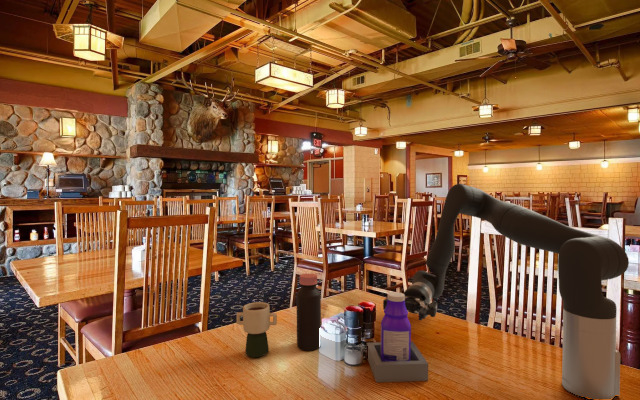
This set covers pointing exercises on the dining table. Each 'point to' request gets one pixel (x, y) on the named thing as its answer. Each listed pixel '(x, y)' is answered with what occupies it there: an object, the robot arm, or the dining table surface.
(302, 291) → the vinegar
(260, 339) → the character mug
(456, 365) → the dining table surface
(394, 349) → the bottle
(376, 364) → the grey square tray
